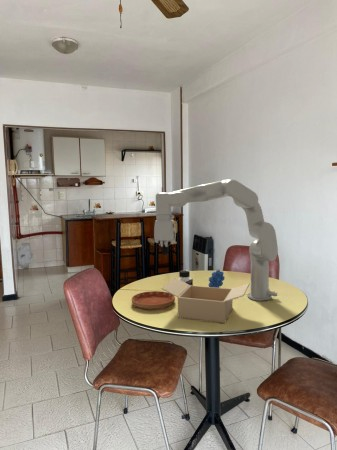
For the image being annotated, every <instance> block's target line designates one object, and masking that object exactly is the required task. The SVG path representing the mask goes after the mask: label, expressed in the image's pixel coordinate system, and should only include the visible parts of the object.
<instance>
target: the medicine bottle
mask: <svg viewBox="0 0 337 450" xmlns="http://www.w3.org/2000/svg"><path fill="white" fill-rule="evenodd" d="M178 276H179V278H178V279H179V280H181V281H183V282H185V283H187V284H189V285H192V286H194V282H193V281H194V279H193V277H190V270H187V269H182V270H179V275H178Z"/></svg>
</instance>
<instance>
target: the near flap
mask: <svg viewBox="0 0 337 450" xmlns="http://www.w3.org/2000/svg"><path fill="white" fill-rule="evenodd" d="M249 286H250V283H249V282H248V283H245V284H242V285H240V286H237V287H236V286H235V287H233V288H231V289H232V290H231V292H230V293H229V295H228V296H227V298H226V300H225V302H227V301H230V300H232V301H233V300H236V299H238V298H242V297H244V296H245V295H246V292H247V290H248V288H249Z"/></svg>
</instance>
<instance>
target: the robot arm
mask: <svg viewBox="0 0 337 450" xmlns="http://www.w3.org/2000/svg"><path fill="white" fill-rule="evenodd" d="M225 197H231V198H232V200H233V203H234V204H235V205H236V206H237V207H239V208H241V209H243V211H244V212H245V215H246V220H247V228H248V233H249V236H250V237H252V238H254V239H256V240H254V241H252V242H251V243H250V245H249V247H248V248H249V249H248V252H249V256H250V257H249V258H250V292H249V293H248V294H247V297H248V299H250V300H253V301H258V302H263V301H264V302H266V301H270V300H272V297H277V296H278V292H276V291H271V290H270V287H269V286H270V283H269V282H270V281H269V280H270V279H269V278H270V277H269V276H270V263H269V262H271V261H274V260H276V259H277V257H278V254H279V248H278V247H279V246H278V240H277V239H278V238H277V234H276V229H275V228H274V226H273V224H271V223H270V222H268V221H267V222H266V221H265V219H264V218H265V217H264V213H263V209H262V207H261V205H260V203H259V197H258V194H257V193H256V192H254V191H253V190H252V189H251V188H249V187H247V186H246V185H244V184H243V183H241V182H239V181H238V180H236V179H222V180H218V181H214V182H210V183H204V184H199V185H196V186H192V187H187V188H183V189H179V190H174V191H172V192H157V193H156V194H155V214H156V215H155V216H156V217H155V218H156V220H155V221H154V228H153V236H154V237H153V238H154V243H156V244H159V245H160V247H161V253H162V256H166V255H169V246H170V245H171V244H174V243H176V236H177V234H176V225H175V222H174V218H175V215H173V213H172V207H176V208H182V207H185V206H186V205H187V204H189V203H196V202H197V203H199V202H201V203H202V202H209V201H212V200H216V199H220V198H225Z"/></svg>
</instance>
